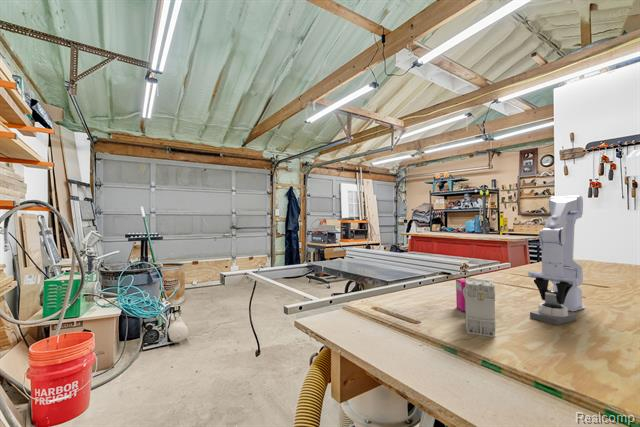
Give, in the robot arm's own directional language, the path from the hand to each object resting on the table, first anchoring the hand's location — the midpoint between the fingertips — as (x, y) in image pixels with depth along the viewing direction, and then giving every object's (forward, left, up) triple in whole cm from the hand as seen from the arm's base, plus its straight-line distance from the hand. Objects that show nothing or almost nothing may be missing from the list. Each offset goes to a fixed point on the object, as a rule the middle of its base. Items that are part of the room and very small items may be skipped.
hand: (552, 301), depth 99 cm
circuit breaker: (+30, -6, -6) cm, 31 cm away
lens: (0, 0, -2) cm, 2 cm away
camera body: (0, 0, -6) cm, 6 cm away
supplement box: (+19, -19, -6) cm, 28 cm away
